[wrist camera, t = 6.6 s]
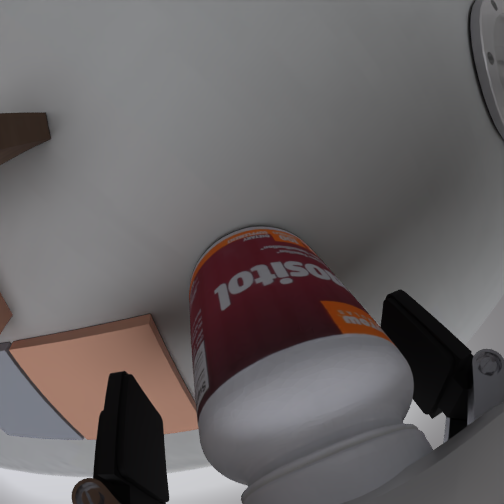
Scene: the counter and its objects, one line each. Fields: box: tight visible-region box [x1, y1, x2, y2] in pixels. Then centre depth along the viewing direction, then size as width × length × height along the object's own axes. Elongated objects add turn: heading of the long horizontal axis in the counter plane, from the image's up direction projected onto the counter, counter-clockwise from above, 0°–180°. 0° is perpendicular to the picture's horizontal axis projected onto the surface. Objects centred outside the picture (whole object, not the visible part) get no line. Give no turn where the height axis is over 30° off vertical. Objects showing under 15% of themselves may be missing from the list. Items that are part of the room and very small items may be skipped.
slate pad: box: [0, 342, 84, 440], centre depth 14 cm, size 10×10×1 cm
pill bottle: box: [189, 226, 433, 504], centre depth 9 cm, size 6×6×11 cm
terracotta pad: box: [9, 314, 199, 440], centre depth 15 cm, size 10×10×1 cm
